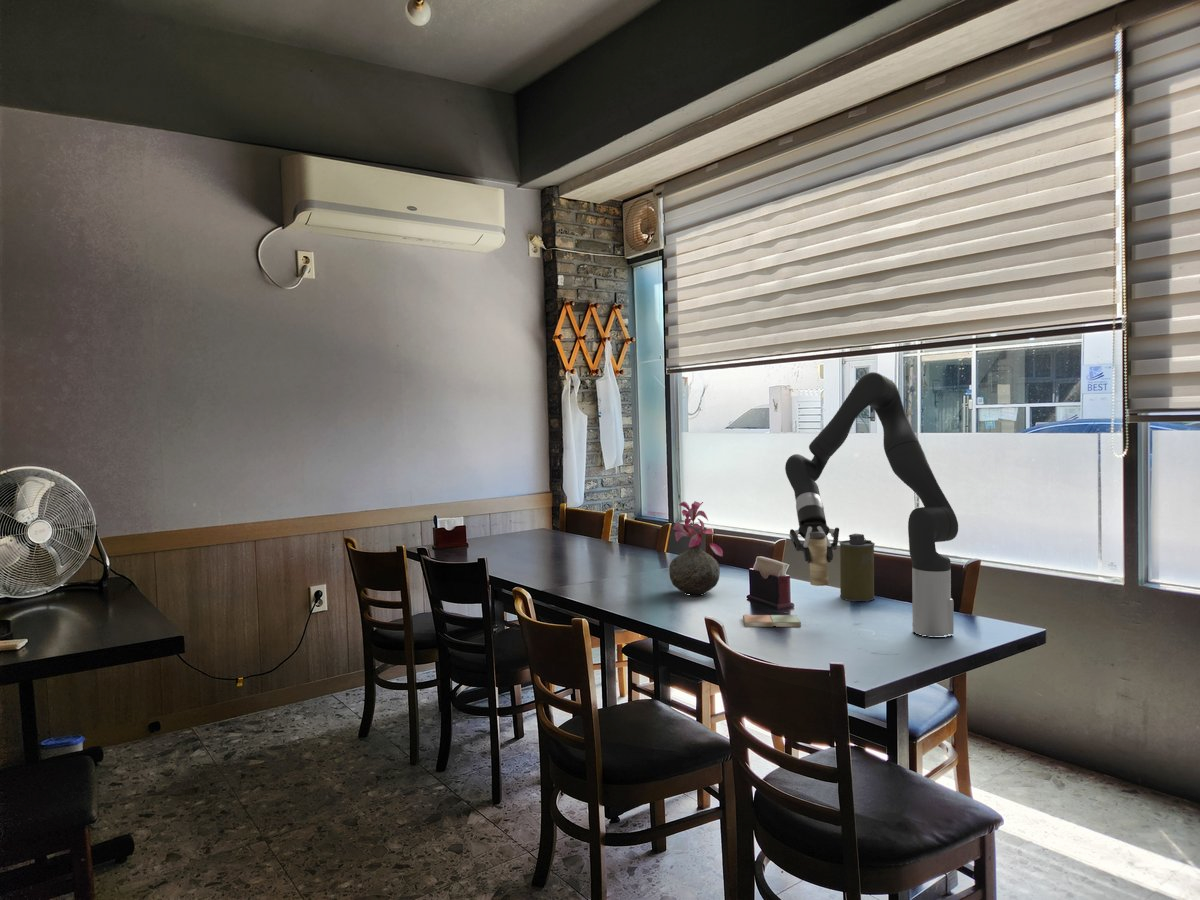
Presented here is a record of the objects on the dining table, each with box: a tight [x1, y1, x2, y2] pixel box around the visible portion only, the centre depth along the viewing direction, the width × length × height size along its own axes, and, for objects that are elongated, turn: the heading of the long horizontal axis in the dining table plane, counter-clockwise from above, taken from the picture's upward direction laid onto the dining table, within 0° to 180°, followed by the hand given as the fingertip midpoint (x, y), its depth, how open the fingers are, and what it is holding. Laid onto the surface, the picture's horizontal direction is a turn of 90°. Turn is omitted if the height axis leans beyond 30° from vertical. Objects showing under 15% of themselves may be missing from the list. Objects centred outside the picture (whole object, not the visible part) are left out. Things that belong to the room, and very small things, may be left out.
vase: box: [668, 501, 724, 595], centre depth 256 cm, size 17×17×30 cm
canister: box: [838, 533, 875, 602], centre depth 246 cm, size 11×10×20 cm
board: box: [742, 614, 802, 628], centre depth 220 cm, size 15×8×1 cm, turn 84°
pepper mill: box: [808, 531, 830, 587], centre depth 216 cm, size 5×5×14 cm
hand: (819, 560), depth 214 cm, fingers closed on pepper mill, 4 cm apart
